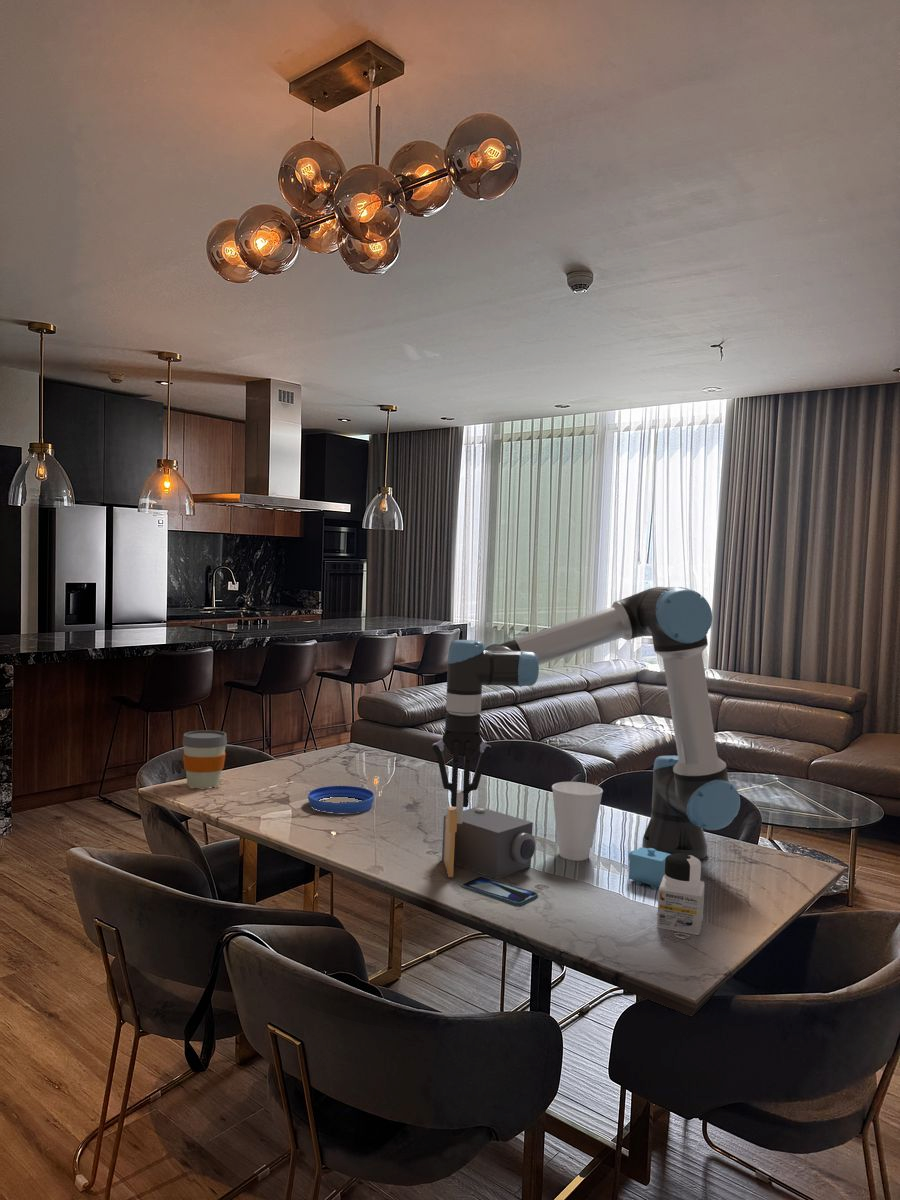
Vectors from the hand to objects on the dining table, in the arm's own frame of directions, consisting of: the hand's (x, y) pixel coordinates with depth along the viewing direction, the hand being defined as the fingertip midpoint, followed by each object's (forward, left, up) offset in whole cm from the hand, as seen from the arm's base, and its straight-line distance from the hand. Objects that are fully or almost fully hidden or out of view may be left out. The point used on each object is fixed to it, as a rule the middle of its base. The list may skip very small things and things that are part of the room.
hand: (458, 821), depth 179 cm
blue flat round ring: (+57, -14, -12) cm, 60 cm away
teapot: (-31, -28, -12) cm, 44 cm away
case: (-1, -10, -12) cm, 16 cm away
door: (+3, -1, -11) cm, 12 cm away
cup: (-9, -30, -12) cm, 34 cm away
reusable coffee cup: (+98, +4, -12) cm, 98 cm away
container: (-45, -13, -12) cm, 49 cm away
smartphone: (-12, 0, -12) cm, 17 cm away
